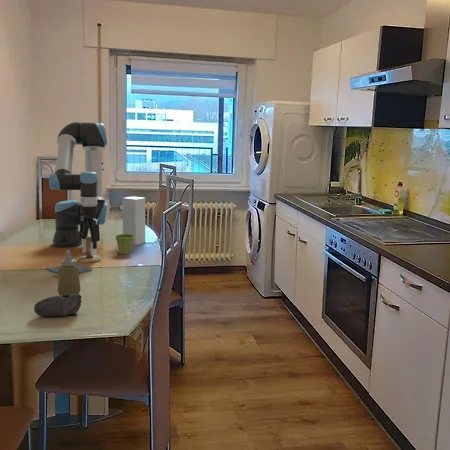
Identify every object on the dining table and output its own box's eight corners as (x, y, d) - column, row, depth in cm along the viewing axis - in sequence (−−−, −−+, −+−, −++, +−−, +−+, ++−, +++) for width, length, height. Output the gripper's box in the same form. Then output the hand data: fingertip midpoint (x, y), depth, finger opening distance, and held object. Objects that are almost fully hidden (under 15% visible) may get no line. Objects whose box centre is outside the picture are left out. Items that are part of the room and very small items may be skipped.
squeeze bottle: (60, 295, 189) (59, 247, 186) (82, 295, 190) (81, 248, 186) (55, 302, 181) (53, 253, 178) (78, 302, 182) (77, 253, 178)
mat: (46, 269, 223) (46, 267, 222) (75, 264, 232) (75, 262, 232) (62, 276, 213) (62, 274, 213) (91, 270, 223) (91, 269, 223)
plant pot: (130, 255, 252) (130, 238, 250) (112, 254, 253) (112, 237, 252) (137, 251, 261) (137, 234, 259) (119, 250, 262) (119, 233, 261)
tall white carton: (122, 243, 278) (122, 197, 274) (132, 240, 286) (132, 196, 281) (135, 245, 274) (135, 199, 270) (145, 242, 282) (145, 197, 277)
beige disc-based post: (74, 259, 241) (74, 236, 239) (93, 256, 248) (93, 233, 246) (85, 263, 234) (85, 240, 232) (104, 260, 241) (104, 237, 239)
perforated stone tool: (33, 320, 164) (33, 299, 163) (34, 314, 169) (34, 294, 168) (82, 316, 168) (81, 296, 167) (81, 311, 173) (81, 291, 172)
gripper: (70, 203, 240) (71, 250, 244) (93, 208, 227) (93, 259, 231) (85, 202, 246) (85, 248, 250) (107, 207, 232) (108, 256, 236)
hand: (89, 253), depth 240 cm, fingers open, 7 cm apart
